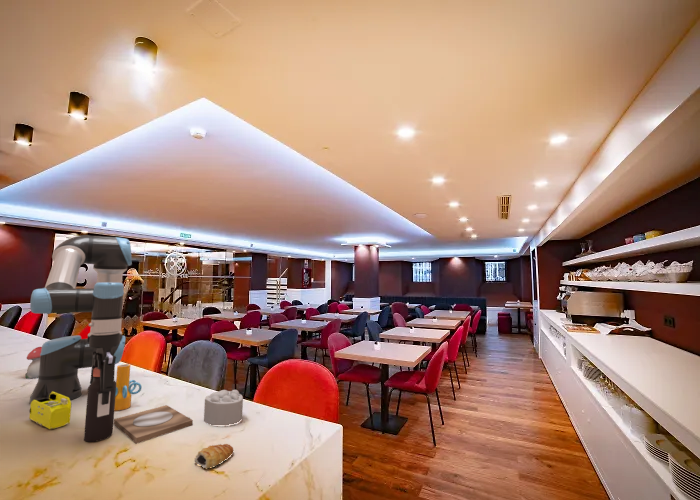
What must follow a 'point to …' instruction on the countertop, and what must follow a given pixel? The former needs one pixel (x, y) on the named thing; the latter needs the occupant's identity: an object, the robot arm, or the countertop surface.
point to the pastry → (213, 455)
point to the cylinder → (124, 388)
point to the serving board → (152, 423)
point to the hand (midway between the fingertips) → (99, 412)
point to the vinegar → (96, 425)
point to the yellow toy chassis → (51, 411)
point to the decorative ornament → (34, 363)
